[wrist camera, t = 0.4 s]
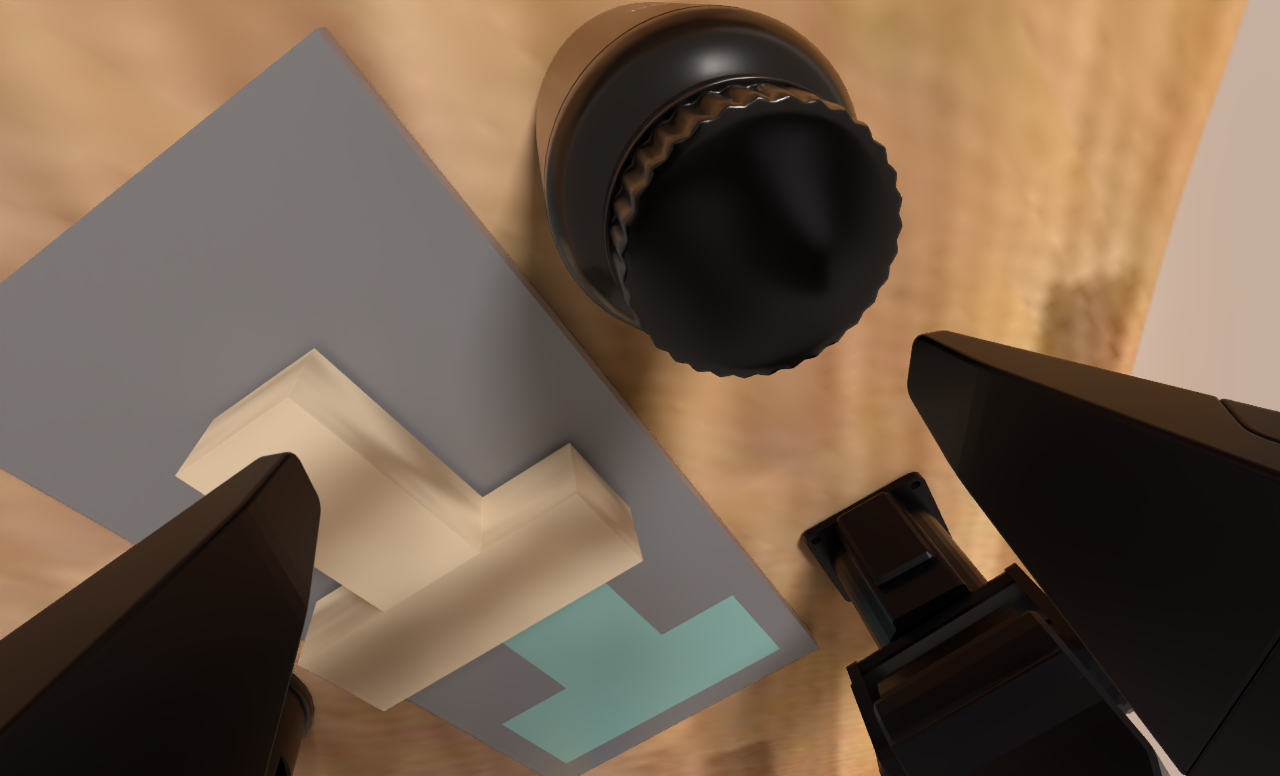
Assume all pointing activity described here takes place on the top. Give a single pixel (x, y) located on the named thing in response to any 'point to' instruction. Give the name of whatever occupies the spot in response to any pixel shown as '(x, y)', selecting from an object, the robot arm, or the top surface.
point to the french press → (291, 729)
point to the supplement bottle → (714, 184)
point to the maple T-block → (417, 534)
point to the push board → (372, 392)
